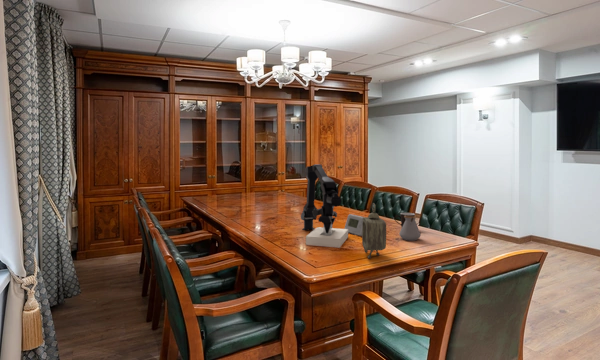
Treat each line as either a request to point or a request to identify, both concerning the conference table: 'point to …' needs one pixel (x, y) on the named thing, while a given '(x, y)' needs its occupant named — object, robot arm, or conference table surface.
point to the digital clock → (354, 224)
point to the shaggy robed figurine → (373, 233)
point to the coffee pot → (410, 229)
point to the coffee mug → (403, 217)
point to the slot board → (327, 237)
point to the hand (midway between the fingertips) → (327, 232)
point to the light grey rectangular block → (328, 232)
